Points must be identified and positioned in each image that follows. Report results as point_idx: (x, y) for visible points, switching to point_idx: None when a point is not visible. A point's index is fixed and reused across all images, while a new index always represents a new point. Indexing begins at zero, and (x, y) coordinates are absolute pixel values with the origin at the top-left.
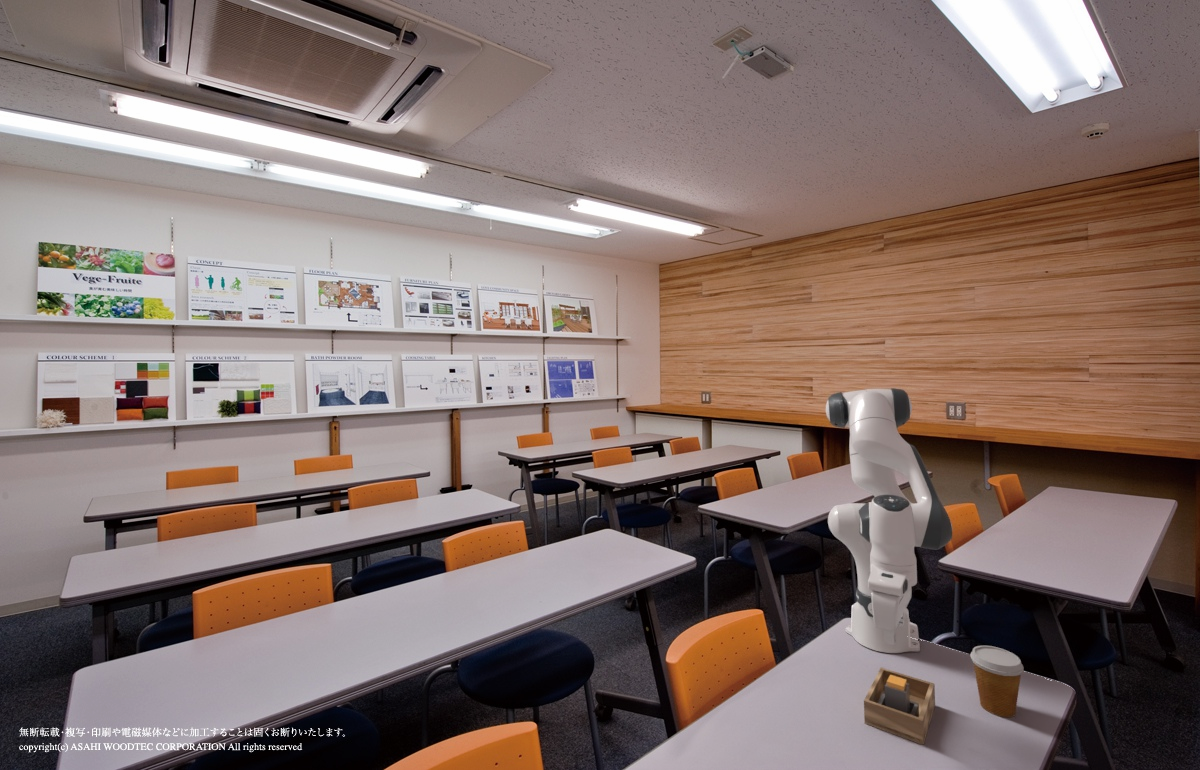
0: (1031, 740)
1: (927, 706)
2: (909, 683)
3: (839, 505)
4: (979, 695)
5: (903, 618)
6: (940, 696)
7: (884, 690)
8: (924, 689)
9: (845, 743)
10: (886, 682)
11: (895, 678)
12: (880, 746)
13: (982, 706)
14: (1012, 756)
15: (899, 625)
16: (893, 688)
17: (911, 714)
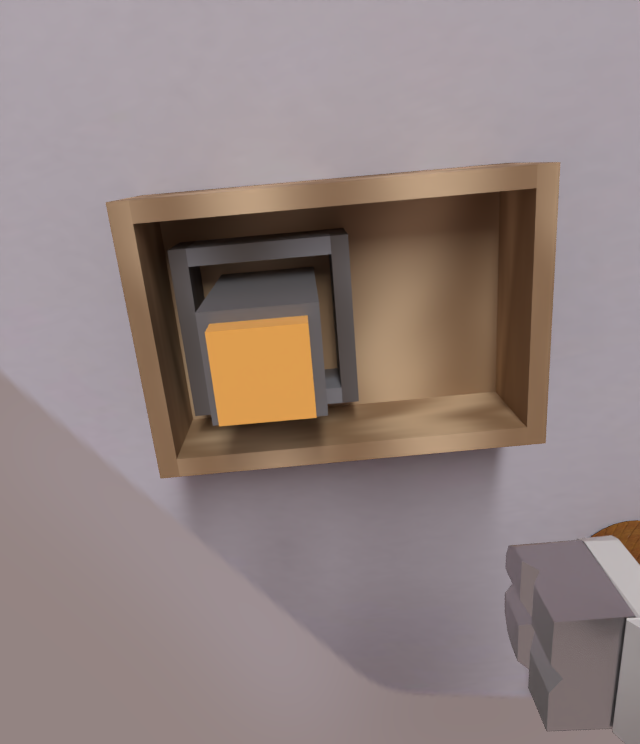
0: (474, 662)
1: (310, 462)
2: (518, 323)
3: None
4: (630, 547)
5: (596, 719)
6: (593, 398)
7: (460, 197)
8: (514, 388)
9: None
10: (247, 309)
11: (282, 363)
12: (37, 303)
13: (600, 533)
14: (341, 637)
15: (507, 595)
16: (208, 361)
17: None
